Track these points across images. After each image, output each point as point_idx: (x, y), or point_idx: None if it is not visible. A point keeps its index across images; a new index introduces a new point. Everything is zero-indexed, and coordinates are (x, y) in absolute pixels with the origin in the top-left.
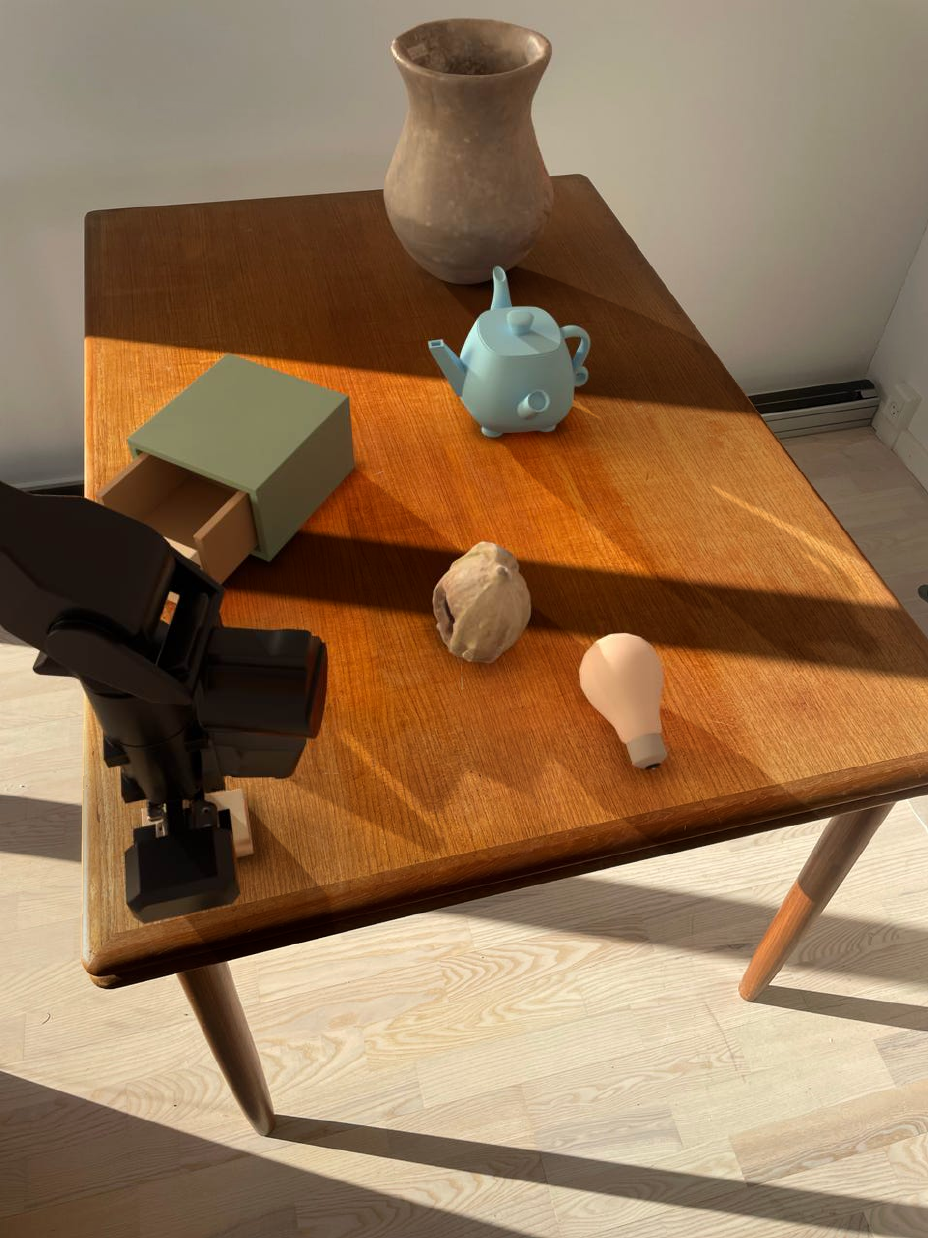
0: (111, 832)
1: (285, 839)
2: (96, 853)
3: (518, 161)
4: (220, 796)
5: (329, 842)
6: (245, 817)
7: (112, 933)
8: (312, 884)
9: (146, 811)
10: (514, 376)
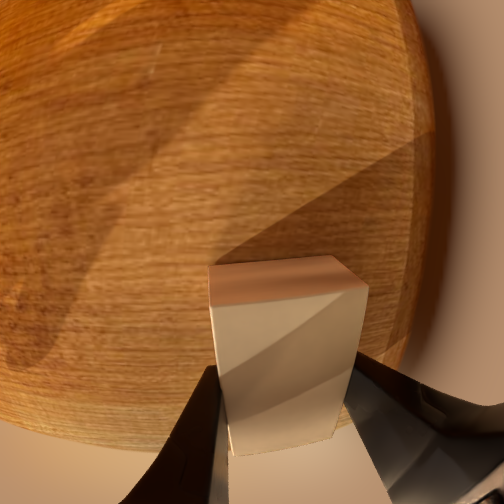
0: (228, 440)
1: (314, 183)
2: None
3: None
4: (229, 358)
5: (341, 92)
6: (313, 296)
7: None
8: (410, 150)
9: (240, 452)
10: None
